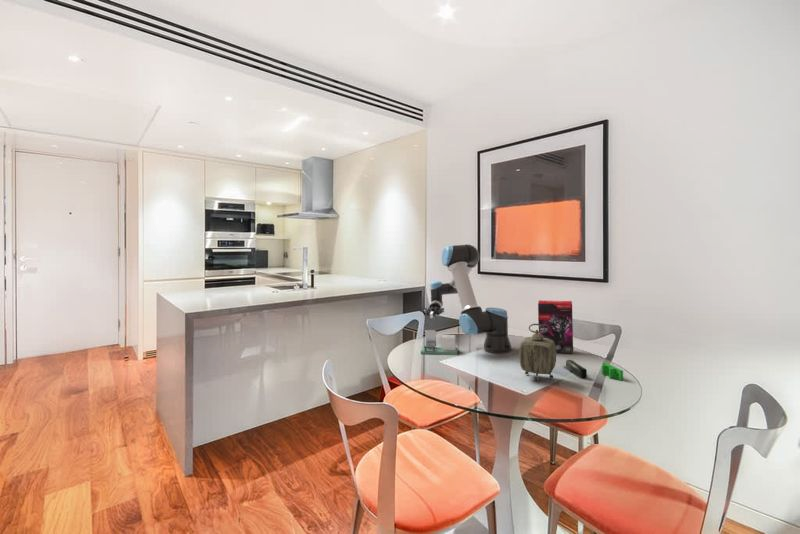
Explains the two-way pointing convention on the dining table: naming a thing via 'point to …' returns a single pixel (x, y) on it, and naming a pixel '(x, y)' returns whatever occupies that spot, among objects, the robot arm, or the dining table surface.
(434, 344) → the plate
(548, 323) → the graphics card box
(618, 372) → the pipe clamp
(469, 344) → the dining table surface
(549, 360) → the tabletop clock
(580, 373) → the mobile phone
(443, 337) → the heat-sink mount
